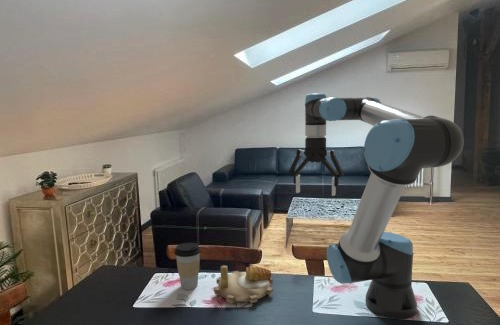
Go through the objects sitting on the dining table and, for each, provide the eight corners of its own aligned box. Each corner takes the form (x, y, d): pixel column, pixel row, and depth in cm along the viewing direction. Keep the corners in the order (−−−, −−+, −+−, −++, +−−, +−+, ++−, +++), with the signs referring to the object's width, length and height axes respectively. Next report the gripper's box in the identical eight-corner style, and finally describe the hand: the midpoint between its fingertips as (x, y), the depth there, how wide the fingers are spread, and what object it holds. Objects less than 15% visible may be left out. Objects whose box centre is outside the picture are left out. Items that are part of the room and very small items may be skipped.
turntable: (260, 270, 136) (260, 249, 135) (283, 296, 116) (283, 271, 115) (207, 280, 129) (207, 257, 128) (222, 309, 109) (222, 282, 108)
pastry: (270, 272, 129) (270, 263, 129) (272, 281, 123) (272, 271, 122) (244, 274, 129) (244, 264, 128) (245, 282, 122) (245, 272, 122)
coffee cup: (196, 293, 122) (195, 252, 120) (171, 291, 124) (169, 250, 122) (205, 280, 131) (204, 242, 129) (182, 279, 133) (180, 241, 131)
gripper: (352, 136, 125) (351, 194, 128) (287, 136, 136) (287, 189, 139) (348, 137, 119) (347, 198, 121) (280, 137, 130) (280, 193, 132)
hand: (315, 193), depth 130 cm, fingers open, 13 cm apart
